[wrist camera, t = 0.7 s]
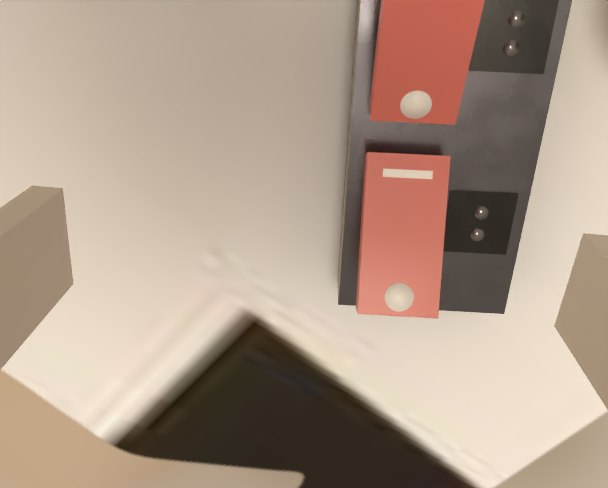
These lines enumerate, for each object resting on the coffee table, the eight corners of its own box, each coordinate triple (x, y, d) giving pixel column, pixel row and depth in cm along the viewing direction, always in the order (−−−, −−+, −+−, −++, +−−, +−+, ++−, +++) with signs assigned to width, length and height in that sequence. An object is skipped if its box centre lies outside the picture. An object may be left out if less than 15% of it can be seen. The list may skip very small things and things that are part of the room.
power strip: (364, -103, 34) (370, -117, 29) (566, -95, 34) (606, -108, 29) (337, 278, 45) (338, 315, 40) (490, 286, 45) (509, 325, 40)
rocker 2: (365, 153, 37) (367, 151, 35) (443, 157, 36) (450, 156, 34) (355, 307, 38) (357, 313, 36) (432, 311, 37) (438, 318, 35)
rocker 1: (389, -77, 28) (392, -64, 27) (491, -73, 28) (499, -60, 27) (369, 103, 35) (370, 121, 34) (450, 107, 35) (455, 125, 34)
